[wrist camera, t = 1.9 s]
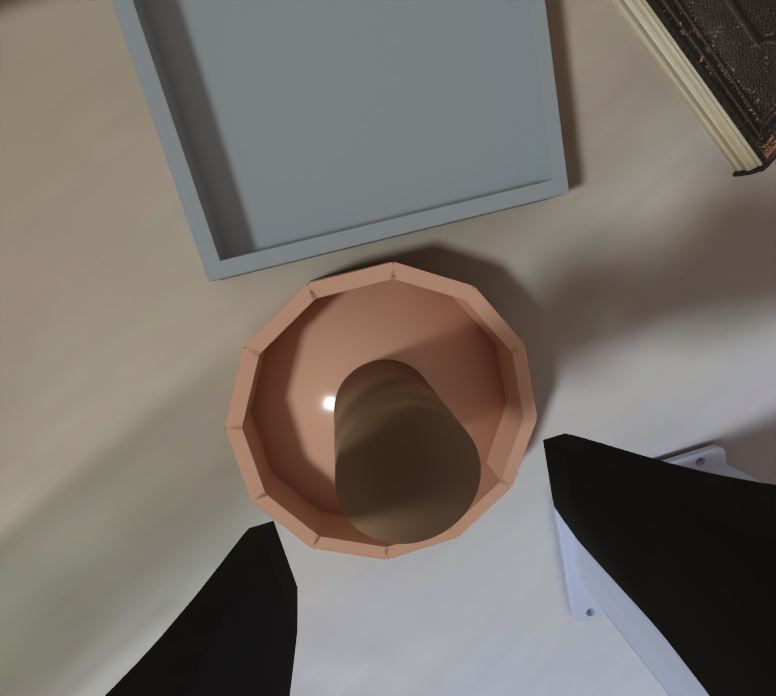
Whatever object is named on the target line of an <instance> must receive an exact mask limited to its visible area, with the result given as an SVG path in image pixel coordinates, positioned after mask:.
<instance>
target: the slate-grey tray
mask: <svg viewBox="0 0 776 696" xmlns="http://www.w3.org/2000/svg"><path fill="white" fill-rule="evenodd" d="M112 3H113V6H114V9H115V12H116V14H117V17H118V20H119V23H120V26H121V29H122V32H123V35H124V38H125V40H126V43H127V46H128V49H129V52H130V55H131V58H132V61H133V64H134V66H135V69H136V72H137V75H138V78H139V81H140V84H141V87H142V90H143V93H144V95H145V98H146V101H147V104H148V107H149V110H150V113H151V116H152V119H153V121H154V124H155V127H156V130H157V133H158V136H159V139H160V142H161V145H162V147H163V150H164V153H165V156H166V159H167V162H168V165H169V168H170V171H171V173H172V176H173V179H174V182H175V185H176V188H177V191H178V194H179V197H180V200H181V202H182V205H183V208H184V211H185V214H186V217H187V220H188V223H189V226H190V228H191V231H192V234H193V237H194V240H195V243H196V246H197V249H198V252H199V254H200V257H201V260H202V263H203V266H204V269H205V272H206V275H207V278H208V281H216V280H223V279H227V278H231V277H235V276H239V275H243V274H247V273H251V272H255V271H259V270H263V269H267V268H271V267H275V266H279V265H283V264H287V263H291V262H295V261H299V260H304V259H308V258H312V257H316V256H320V255H324V254H328V253H332V252H336V251H340V250H344V249H348V248H352V247H356V246H360V245H364V244H368V243H372V242H376V241H380V240H384V239H389V238H393V237H397V236H401V235H405V234H409V233H413V232H417V231H421V230H425V229H429V228H433V227H437V226H441V225H445V224H449V223H453V222H457V221H461V220H465V219H469V218H474V217H478V216H482V215H486V214H490V213H494V212H498V211H502V210H506V209H510V208H514V207H518V206H522V205H526V204H530V203H534V202H538V201H542V200H546V199H549V198H553V197H556V196H560V195H563V194H566V193H569V188H568V180H567V172H566V164H565V156H564V148H563V140H562V132H561V124H560V116H559V108H558V100H557V92H556V85H555V77H554V69H553V61H552V53H551V45H550V37H549V29H548V21H547V13H546V5H545V0H112Z"/></svg>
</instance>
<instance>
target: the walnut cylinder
mask: <svg viewBox="0 0 776 696" xmlns="http://www.w3.org/2000/svg"><path fill="white" fill-rule="evenodd" d="M334 447H335V490H336V495H337V500H338V502H339V505H340V508H341V510H342V511H343V513H344V515H345V516H346V518H347V519H348V520H349V521H350V523H351V524H352V525H353V526H354V527H356V528H357V529H358V530H359V531H361V532H362V533H364V534H365V535H367V536H369V537H371V538H373V539H376V540H379V541H382V542H386V543H393V544H410V543H417V542H421V541H425V540H428V539H431V538H433V537H436V536H438V535H440V534H441V533H443V532H445V531H446V530H448V529H449V528H451V527H452V526H453V525H454V524H456V523H457V522H458V521H459V520H460V519H461V518H462V517H463V516H464V514H465V513H466V512H467V510H468V509H469V508H470V506H471V504H472V502H473V501H474V499H475V496H476V494H477V491H478V488H479V484H480V477H481V463H480V457H479V453H478V450H477V448H476V445H475V443H474V441H473V440H472V438H471V436H470V435H469V433H468V432H467V431H466V430H465V429H464V427H463V426H462V425H461V424H460V422H459V421H458V420H457V419H456V417H455V416H454V415H453V414H452V412H451V411H450V410H449V409H448V407H447V406H446V405H445V404H444V402H443V401H442V400H441V399H440V397H439V396H438V395H437V394H436V392H435V391H434V390H433V389H432V387H431V386H430V385H429V384H428V382H427V381H426V380H425V379H424V377H423V376H422V375H421V374H420V373H419V372H418V371H417V370H416V369H414V368H413V367H411V366H409V365H407V364H405V363H403V362H400V361H395V360H386V359H385V360H376V361H372V362H369V363H366V364H364V365H362V366H360V367H358V368H357V369H355V370H354V371H352V372H351V373H350V374H349V375H348V376H347V377H346V378H345V379H344V381H343V382H342V384H341V385H340V387H339V389H338V392H337V394H336V398H335V403H334Z"/></svg>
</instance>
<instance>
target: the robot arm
mask: <svg viewBox="0 0 776 696" xmlns="http://www.w3.org/2000/svg"><path fill="white" fill-rule="evenodd" d="M543 442H544V448H545V454H546V461H547V467H548V473H549V479H550V485H551V492H552V498H553V499H552V506H553V512H554V518H555V524H556V530H557V537H558V543H559V549H560V555H561V561H562V567H563V573H564V579H565V585H566V592H567V598H568V604H569V610H570V614H571V616H572V617H573V619H574V620H575V621H577V622H584V621H587V620H590V619H593V618H595V617H598V616H601V615H604V614H605V615H606V616H607V617H608V618H609V620H610V621H611V622H612V624H613V625H614V626H615V627H616V629H617V630H618V631H619V633H620V634H621V635H622V636H623V638H624V639H625V640H626V642H627V643H628V644H629V645H630V647H631V648H632V649H633V651H634V652H635V653H636V654H637V656H638V657H639V658H640V660H641V661H642V662H643V663H644V665H645V666H646V667H647V669H648V670H649V671H650V672H651V674H652V675H653V676H654V678H655V679H656V680H657V681H658V683H659V684H660V685H661V687H662V688H663V689H664V690H665V692H666V693H667V694H668V696H776V485H773V484H767V483H763V482H761V481H759V480H757V479H755V478H753V477H751V476H749V475H747V474H745V473H743V472H741V471H739V470H737V469H735V468H733V467H732V466H730V465H728V464H726V452H725V450H724V449H723V448H722V447H720V446H717V445H709V446H706V447H703V448H700V449H697V450H693V451H690V452H687V453H684V454H680V455H677V456H674V457H671V458H668V459H664V460H661V461H660V460H657V459H653V458H649V457H646V456H642V455H639V454H635V453H632V452H628V451H625V450H622V449H618V448H615V447H612V446H608V445H605V444H602V443H598V442H595V441H592V440H588V439H585V438H581V437H578V436H573V435H569V434H562V435H558V436H555V437H552V438H548V439H545V440H543ZM697 459H698V460H697ZM296 637H297V585H296V582H295V580H294V577H293V574H292V571H291V569H290V566H289V563H288V560H287V557H286V555H285V552H284V549H283V546H282V544H281V541H280V538H279V535H278V532H277V530H276V527H275V524H274V521H272V522H268V523H265V524H262V525H258V526H255V527H252V528H249V529H248V530H247V531H246V532H245V534H244V535H243V536H242V537H241V539H240V540H239V541H238V542H237V544H236V545H235V546H234V547H233V549H232V550H231V551H230V553H229V554H228V555H227V557H226V558H225V559H224V560H223V562H222V563H221V564H220V566H219V567H218V568H217V569H216V571H215V572H214V573H213V575H212V576H211V577H210V578H209V580H208V581H207V582H206V583H205V585H204V586H203V587H202V589H201V590H200V591H199V592H198V594H197V595H196V596H195V597H194V599H193V600H192V601H191V602H190V603H189V604H188V606H187V607H186V608H185V609H184V610H183V612H182V613H181V614H180V615H179V616H178V617H177V619H176V620H175V621H174V622H173V623H172V624H171V626H170V627H169V628H168V629H167V630H166V632H165V633H164V634H163V635H162V636H161V637H160V639H159V640H158V641H157V642H156V643H155V644H154V645H153V646H152V648H151V649H150V650H149V651H148V652H147V653H146V654H145V655H144V656H143V657H142V658H141V659H140V661H139V662H138V663H137V664H136V665H135V666H134V667H133V668H132V669H131V670H130V671H129V672H128V673H127V674H126V675H125V676H124V677H123V678H122V679H121V680H120V681H119V682H118V683H117V684H116V685H115V686H114V687H113V688H112V689H111V690H110V691H109V692H108V693H107V694H106V695H105V696H290V688H291V680H292V671H293V663H294V655H295V646H296Z"/></svg>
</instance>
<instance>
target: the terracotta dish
mask: <svg viewBox="0 0 776 696" xmlns="http://www.w3.org/2000/svg"><path fill="white" fill-rule="evenodd" d="M385 359H386V360H395V361H400V362H403V363H405V364H407V365H409V366H411V367H413V368H414V369H416V370H417V371H418V372H419V373H420V374H421V375H422V376H423V377H424V379H425V380H426V381H427V382H428V384H429V385H430V386H431V387H432V389H433V390H434V391H435V392H436V394H437V395H438V396H439V397H440V399H441V400H442V401H443V402H444V404H445V405H446V406H447V407H448V409H449V410H450V411H451V412H452V414H453V415H454V416H455V417H456V419H457V420H458V421H459V422H460V424H461V425H462V426H463V427H464V429H465V430H466V431H467V432H468V433H469V435H470V436H471V438H472V440H473V441H474V443H475V445H476V448H477V450H478V453H479V457H480V463H481V477H480V484H479V488H478V491H477V494H476V496H475V499H474V501H473V502H472V504H471V506H470V508H469V509H468V510H467V512H466V513H465V514H464V516H463V517H462V518H461V519H460V520H459V521H458V522H457V523H456V524H454V525H453V526H452V527H451V528H449V529H448V530H446V531H445V532H443V533H441V534H440V535H438V536H436V537H433V538H431V539H428V540H425V541H421V542H417V543H410V544H393V543H386V542H382V541H379V540H376V539H373V538H371V537H369V536H367V535H365V534H364V533H362V532H361V531H359V530H358V529H357V528H356V527H354V526H353V525H352V524H351V523H350V521H349V520H348V519H347V518H346V516H345V515H344V513H343V511H342V510H341V508H340V505H339V502H338V500H337V495H336V490H335V447H334V403H335V398H336V394H337V392H338V389H339V387H340V385H341V384H342V382H343V381H344V379H345V378H346V377H347V376H348V375H349V374H350V373H351V372H352V371H354V370H355V369H357V368H358V367H360V366H362V365H364V364H366V363H369V362H372V361H376V360H385ZM536 417H537V412H536V406H535V400H534V394H533V388H532V382H531V375H530V369H529V363H528V357H527V351H526V346H525V344H524V343H523V341H522V340H521V339H520V338H519V337H518V336H517V335H516V333H515V332H514V331H513V330H512V329H511V328H510V327H509V325H508V324H507V323H506V322H505V321H504V320H503V318H502V317H501V316H500V315H499V314H498V313H497V312H496V310H495V309H494V308H493V307H492V306H491V305H490V304H489V302H488V301H487V300H486V299H485V298H484V297H483V296H482V294H481V293H480V292H479V291H478V290H477V289H476V288H475V287H473V286H472V285H469V284H466V283H462V282H459V281H456V280H452V279H449V278H446V277H442V276H439V275H436V274H433V273H429V272H426V271H423V270H419V269H416V268H413V267H409V266H406V265H403V264H400V263H396V262H383V263H379V264H375V265H371V266H367V267H364V268H360V269H356V270H352V271H348V272H344V273H340V274H336V275H332V276H328V277H324V278H320V279H316V280H312V281H310V282H308V283H307V284H306V285H305V286H304V287H303V288H302V289H301V290H300V291H299V292H298V293H297V294H296V295H295V296H294V297H293V298H292V299H291V300H290V301H289V302H288V303H287V304H286V305H285V306H284V307H283V308H282V309H281V310H280V311H279V312H278V313H277V314H276V315H275V316H274V317H273V318H272V319H271V320H270V321H269V322H268V323H267V324H266V325H265V326H264V327H263V328H262V329H261V330H260V331H259V332H258V333H257V334H256V335H255V336H254V337H253V338H252V339H251V340H250V341H249V342H248V343H247V344H246V345H245V346H244V347H243V351H242V356H241V360H240V364H239V369H238V373H237V377H236V382H235V386H234V390H233V395H232V399H231V403H230V408H229V412H228V416H227V421H226V425H225V427H226V428H225V430H226V433H227V435H228V438H229V441H230V444H231V446H232V449H233V452H234V454H235V457H236V460H237V463H238V465H239V468H240V471H241V473H242V476H243V479H244V482H245V484H246V487H247V490H248V492H249V495H250V498H251V501H253V503H254V504H256V505H257V506H258V507H259V508H261V509H262V510H263V511H265V512H266V513H267V514H268V515H270V516H271V517H272V518H274V519H275V520H276V521H277V522H279V523H280V524H281V525H283V526H284V527H285V528H287V529H288V530H289V531H290V532H292V533H293V534H294V535H296V536H297V537H298V538H299V539H301V540H302V541H303V542H305V543H306V544H307V545H308V546H310V547H313V548H314V549H321V550H327V551H333V552H340V553H346V554H353V555H359V556H365V557H372V558H378V559H384V560H386V558H387V559H390V558H394V557H397V556H400V555H403V554H406V553H410V552H413V551H416V550H419V549H422V548H425V547H429V546H432V545H435V544H438V543H441V542H445V541H448V540H451V539H454V538H457V536H458V537H459V536H460V535H461V534H462V533H463V532H464V531H465V530H466V529H467V528H468V527H470V526H471V525H472V524H473V523H474V522H475V521H476V520H477V519H478V518H479V517H480V516H481V515H482V514H483V513H485V512H486V511H487V510H488V509H489V508H490V507H491V506H492V505H493V504H494V503H495V502H496V501H497V500H499V499H500V498H501V497H502V496H503V495H504V494H505V493H506V492H507V491H508V490H509V489H510V488H511V486H513V483H514V480H515V478H516V475H517V472H518V470H519V467H520V464H521V461H522V459H523V456H524V453H525V450H526V448H527V445H528V442H529V440H530V437H531V434H532V431H533V429H534V426H535V423H536V421H537V418H536Z"/></svg>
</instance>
